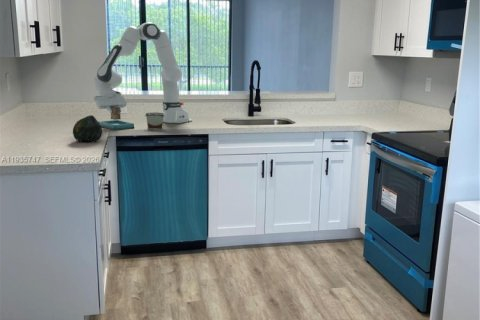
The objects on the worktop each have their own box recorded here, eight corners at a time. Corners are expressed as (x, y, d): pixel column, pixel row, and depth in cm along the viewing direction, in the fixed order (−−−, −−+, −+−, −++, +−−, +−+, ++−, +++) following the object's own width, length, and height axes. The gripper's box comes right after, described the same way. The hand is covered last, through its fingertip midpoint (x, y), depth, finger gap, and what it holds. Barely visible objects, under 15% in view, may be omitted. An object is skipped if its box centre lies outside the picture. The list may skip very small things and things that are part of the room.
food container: (166, 127, 302) (166, 112, 300) (164, 129, 296) (164, 113, 294) (148, 127, 303) (148, 112, 301) (145, 128, 298) (145, 113, 295)
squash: (66, 129, 252) (74, 111, 243) (92, 128, 263) (100, 110, 254) (75, 149, 247) (84, 131, 238) (101, 147, 257) (110, 130, 248)
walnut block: (116, 118, 302) (116, 106, 300) (120, 119, 299) (120, 106, 297) (110, 118, 299) (110, 106, 297) (114, 119, 296) (114, 107, 294)
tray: (117, 124, 312) (117, 119, 311) (134, 128, 298) (133, 123, 298) (98, 126, 302) (98, 121, 302) (114, 130, 289) (114, 125, 288)
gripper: (94, 93, 293) (103, 110, 288) (123, 92, 307) (131, 108, 303) (91, 99, 297) (99, 116, 292) (119, 98, 311) (127, 114, 307)
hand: (116, 112), depth 298 cm, fingers closed on walnut block, 4 cm apart
